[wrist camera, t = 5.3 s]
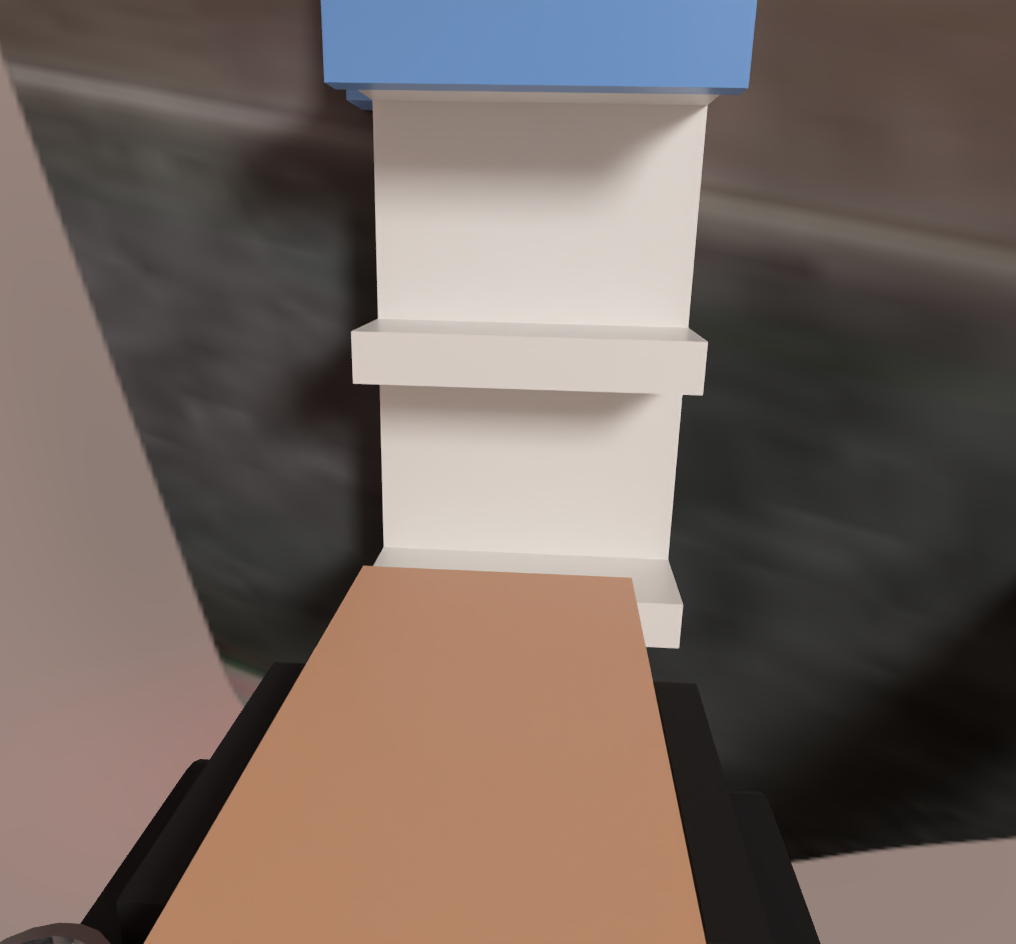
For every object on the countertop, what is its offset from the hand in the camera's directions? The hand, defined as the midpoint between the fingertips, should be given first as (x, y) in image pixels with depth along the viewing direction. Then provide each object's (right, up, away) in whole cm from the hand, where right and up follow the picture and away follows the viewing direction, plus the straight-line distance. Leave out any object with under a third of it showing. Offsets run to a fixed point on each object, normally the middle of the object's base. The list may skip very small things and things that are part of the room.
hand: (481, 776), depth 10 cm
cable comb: (+1, +13, +16) cm, 20 cm away
